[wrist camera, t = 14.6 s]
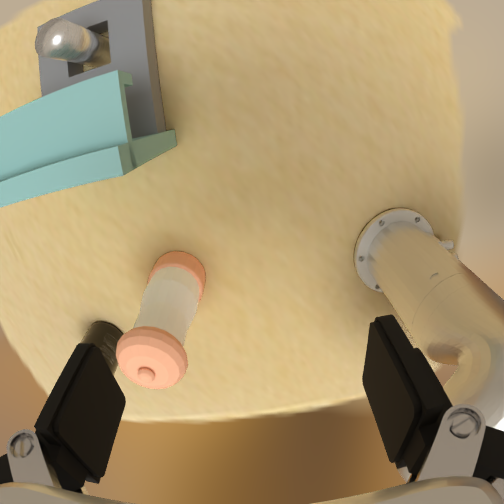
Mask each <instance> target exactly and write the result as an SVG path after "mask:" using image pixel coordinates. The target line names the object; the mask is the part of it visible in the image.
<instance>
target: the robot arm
mask: <svg viewBox="0 0 504 504" xmlns="http://www.w3.org/2000/svg"><path fill="white" fill-rule="evenodd" d="M380 220H381V222H379V221H380ZM453 247H454V243H453V241H452V240H444V241H440V240H439V239H438V238H436V237H435V236H434V233H433V230H432V228H431V225H430V224H429V222H428V221H427V220H426V219H425V218H424V217H423V216H422V215H420V214H419V213H417V212H416V211H413V210H410V209H405V208H396V209H391V210H388V211H385V212H383V213H381V214H379V215H378V216H376V217H375V218H374V219H373V220H371V221H370V222H369V223H368V225H367V226H366V227H365V228H364V230H363V231H362V233H361V234H360V236H359V238H358V241H357V243H356V247H355V252H354V262H355V268H356V271H357V273H358V275H359V277H360V278H361V280H362V281H363V282H364V284H365V285H367V286H368V287H369V288H370V289H372V290H374V291H377V292H382V293H384V294H385V295H386V297H387V298H388V300H389V301H390V303H391V304H392V306H393V307H394V309H395V310H396V312H397V314H398V315H399V317H400V318H401V320H402V321H403V323H404V324H405V326H406V328H407V329H408V331H409V332H410V334H411V335H412V337H413V339H414V340H415V342H416V343H417V345H418V347H419V348H420V349H418V348H413V346H412V345H411V343H410V341H409V340H408V338H407V337H406V335H405V333H404V332H403V330H402V328H401V327H400V325H399V323H398V322H397V320H396V319H395V317H394V316H393V315H386V316H381V317H376V318H375V321H374V322H372V323H370V328H369V336H368V344H367V351H366V358H365V365H364V371H363V378H362V379H363V386H364V389H365V392H366V395H367V397H368V400H369V403H370V406H371V409H372V411H373V414H374V417H375V420H376V423H377V426H378V429H379V431H380V434H381V437H382V440H383V443H384V446H385V449H386V452H387V455H388V458H389V461H390V462H391V463H393V462H395V464H396V467H397V469H398V471H399V473H400V475H401V476H402V477H403V479H404V480H405V481H406V482H407V483H406V484H403V485H399V486H395V487H391V488H387V489H383V490H379V491H375V492H370V493H366V494H361V495H357V496H352V497H347V498H341V499H336V500H330V501H325V502H318V503H312V504H504V300H503V299H502V298H501V297H500V296H498V295H497V294H496V293H495V292H494V291H493V290H492V289H491V288H489V287H488V286H487V285H486V284H485V283H484V282H483V281H482V280H480V278H478V277H477V276H476V275H475V274H474V273H473V272H472V271H471V270H470V269H468V268H467V267H466V266H465V265H464V264H463V263H462V262H460V261H459V260H458V255H457V254H456V253H450V252H449V251H448V250H450V249H453ZM360 256H361V257H360ZM421 351H422V352H423V353H424V354H425V355H426V356H427V357H428V358H430V359H431V360H433V361H435V362H438V363H441V364H447V365H458V368H457V370H456V371H455V373H454V374H453V375H452V376H451V378H450V379H449V380H448V381H447V382H446V384H445V385H444V386H443V387H442V385H441V384H440V382H439V380H438V379H437V377H436V375H435V373H434V372H433V370H432V368H431V366H430V365H429V363H428V361H427V360H426V358H425V356H424V355H423V353H422V352H421ZM125 403H126V401H125V396H124V394H123V392H122V391H121V389H120V387H119V385H118V383H117V381H116V380H115V378H114V376H113V374H112V372H111V370H110V368H109V366H108V364H107V362H106V360H105V358H104V356H103V354H102V352H101V350H100V348H98V347H96V345H95V344H93V343H79V344H78V345H77V346H76V348H75V350H74V351H73V353H72V355H71V357H70V358H69V360H68V362H67V364H66V366H65V367H64V369H63V371H62V373H61V375H60V377H59V378H58V380H57V382H56V384H55V386H54V388H53V390H52V392H51V394H50V395H49V397H48V399H47V401H46V404H45V405H44V407H43V409H42V411H41V413H40V415H39V418H38V419H37V422H36V424H35V426H34V427H35V428H36V432H35V433H34V432H33V431H31V430H28V429H24V430H20V431H18V432H16V433H15V434H13V435H12V436H11V437H10V439H9V441H8V443H7V454H5V455H3V456H1V457H0V504H133V503H127V502H121V501H115V500H110V499H105V498H99V497H95V496H90V495H88V492H87V490H86V488H85V486H84V483H85V480H86V481H88V482H93V483H97V484H98V483H99V482H100V478H101V477H103V476H104V474H105V471H106V468H107V464H108V461H109V457H110V454H111V450H112V446H113V443H114V440H115V437H116V433H117V429H118V427H119V423H120V420H121V417H122V414H123V411H124V407H125Z"/></svg>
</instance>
